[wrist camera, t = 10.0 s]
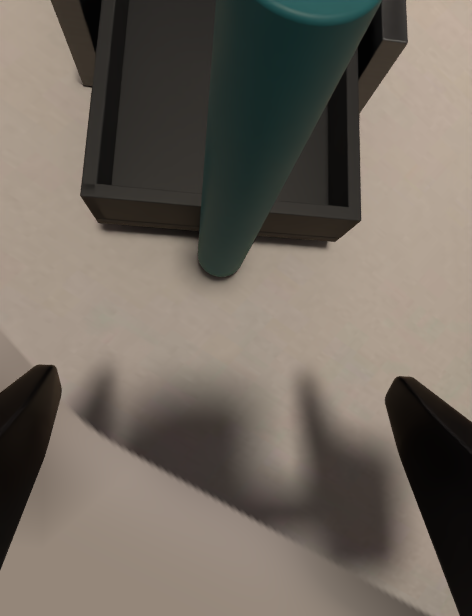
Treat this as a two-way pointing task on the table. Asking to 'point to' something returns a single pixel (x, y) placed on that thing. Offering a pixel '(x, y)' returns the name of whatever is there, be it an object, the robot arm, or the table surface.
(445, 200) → the table surface
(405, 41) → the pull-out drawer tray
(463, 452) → the robot arm
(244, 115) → the black compartment tray
